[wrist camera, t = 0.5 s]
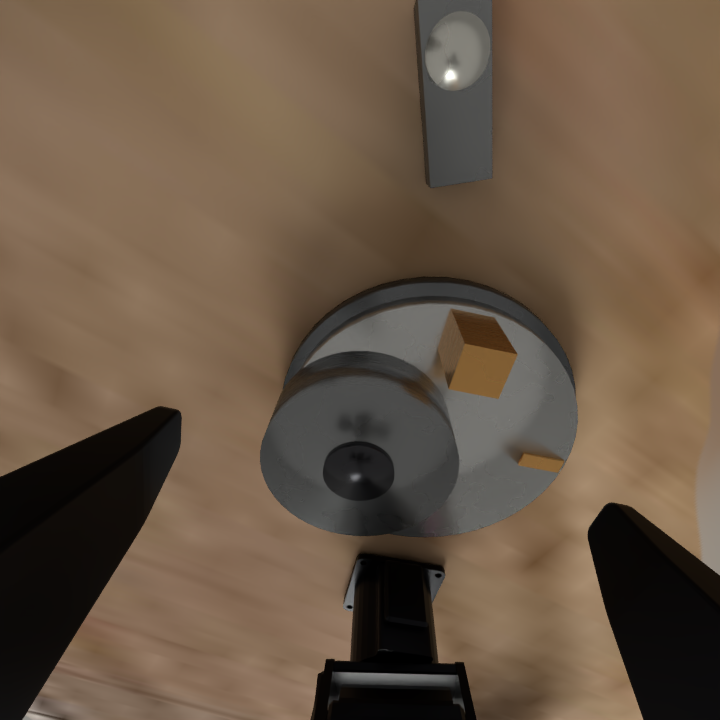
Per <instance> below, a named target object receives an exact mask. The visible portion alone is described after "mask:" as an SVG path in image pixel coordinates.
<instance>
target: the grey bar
mask: <svg viewBox="0 0 720 720" xmlns="http://www.w3.org/2000/svg"><path fill="white" fill-rule="evenodd" d="M414 21H415V35H416V49H417V63H418V77H419V91H420V105H421V119H422V133H423V147H424V161H425V175H426V184H427V185H428V186H429V187H430V188H434V187H441V186H447V185H453V184H460V183H466V182H472V181H479V180H485V179H491V178H492V0H416V1H415V5H414Z"/></svg>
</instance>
